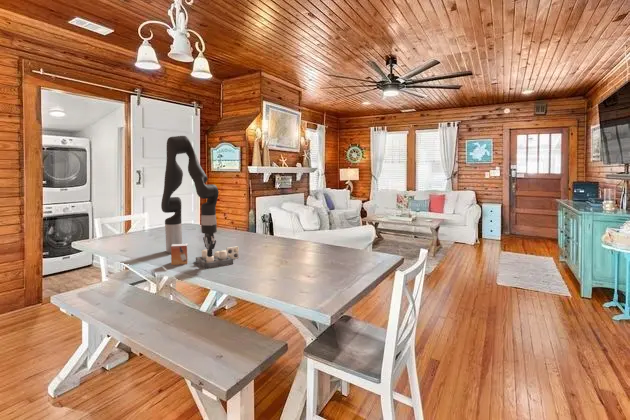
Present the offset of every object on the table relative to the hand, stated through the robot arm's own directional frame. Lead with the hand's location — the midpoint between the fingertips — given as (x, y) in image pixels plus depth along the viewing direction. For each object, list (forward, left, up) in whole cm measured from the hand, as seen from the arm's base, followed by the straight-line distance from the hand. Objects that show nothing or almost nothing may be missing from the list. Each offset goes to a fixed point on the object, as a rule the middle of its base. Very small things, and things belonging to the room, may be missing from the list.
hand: (209, 256), depth 177 cm
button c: (-7, 0, -3) cm, 8 cm away
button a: (0, 0, -4) cm, 4 cm away
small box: (-14, -11, -6) cm, 19 cm away
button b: (0, +7, -3) cm, 8 cm away
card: (-6, +15, -5) cm, 17 cm away
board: (-4, +4, -5) cm, 8 cm away
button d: (-7, +7, -5) cm, 11 cm away
